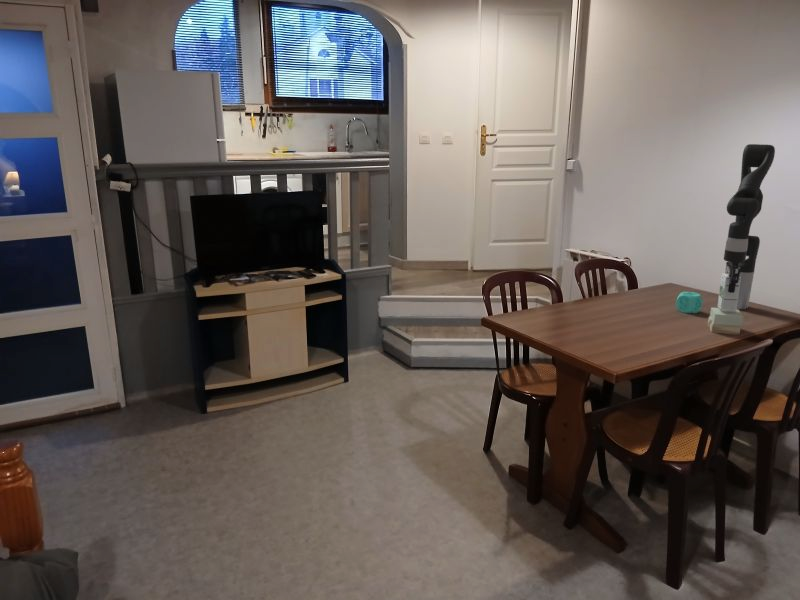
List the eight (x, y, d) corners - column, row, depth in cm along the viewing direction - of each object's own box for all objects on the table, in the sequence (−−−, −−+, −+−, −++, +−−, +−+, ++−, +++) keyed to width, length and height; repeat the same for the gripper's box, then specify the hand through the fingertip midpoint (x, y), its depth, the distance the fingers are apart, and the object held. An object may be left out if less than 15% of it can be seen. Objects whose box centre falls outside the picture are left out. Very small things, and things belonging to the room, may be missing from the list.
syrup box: (736, 311, 233) (742, 276, 229) (720, 311, 234) (726, 276, 230) (731, 307, 238) (737, 273, 234) (716, 307, 239) (721, 272, 235)
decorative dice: (701, 311, 262) (704, 294, 260) (691, 314, 258) (694, 297, 256) (684, 307, 268) (686, 290, 266) (674, 310, 264) (677, 293, 262)
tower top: (709, 316, 243) (711, 307, 242) (736, 318, 240) (738, 309, 239) (713, 323, 234) (715, 314, 233) (741, 326, 231) (743, 316, 230)
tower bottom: (707, 325, 244) (708, 316, 243) (734, 327, 241) (735, 318, 240) (711, 333, 235) (712, 323, 234) (739, 335, 232) (740, 326, 231)
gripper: (751, 253, 221) (743, 295, 226) (742, 246, 234) (736, 286, 239) (729, 252, 224) (722, 294, 228) (721, 245, 237) (715, 285, 241)
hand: (729, 290), depth 234 cm, fingers closed on syrup box, 6 cm apart
